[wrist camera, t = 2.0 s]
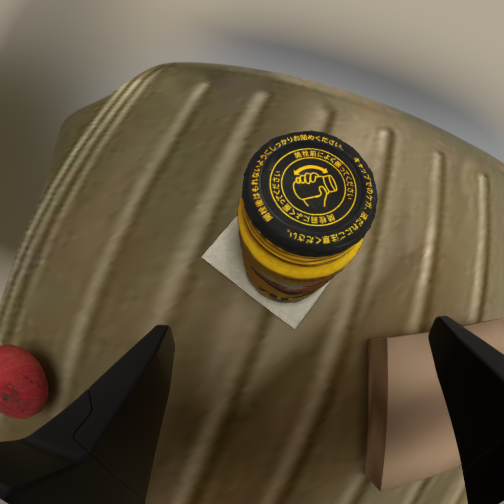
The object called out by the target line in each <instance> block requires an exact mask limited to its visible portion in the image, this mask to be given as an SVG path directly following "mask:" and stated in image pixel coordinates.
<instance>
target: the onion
mask: <svg viewBox="0 0 504 504" xmlns="http://www.w3.org/2000/svg"><path fill="white" fill-rule="evenodd" d="M47 398H48V382H47V379H46V375H45V372H44V370H43V369H42V367H41V365H40V363H39V362H38V361H37V360H36V359H35V358H34V357H33V355H32V354H30V353H29V352H28V351H27V350H25V349H23V348H20V347H17V346H14V345H3V346H0V412H1V413H2V414H4V415H6V416H8V417H11V418H19V419H25V418H29V417H31V416H33V415H35V414H37V413H38V412H40V411H42V409H43V407H44V405H45V403H46V400H47Z"/></svg>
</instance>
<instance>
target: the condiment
mask: <svg viewBox="0 0 504 504" xmlns="http://www.w3.org/2000/svg"><path fill="white" fill-rule="evenodd" d="M242 189H243V191H242V195H241V198H240V201H239V204H238V214H237V216H236V217H235V219H234V220H233V221H232V222H231V223H230V224H229V226H228V227H227V228H226V229H225V230H224V231H223V232H222V234H221V235H220V236H219V237H218V238H217V240H216V241H215V242H214V243H213V244H212V245H211V246H210V248H209V249H208V250H207V251H206V252H205V254H204V255H203V256H202V258H203V259H205V260H206V261H207V262H208V263H210V264H211V265H212V266H213V267H215V268H216V269H217V270H218V271H220V272H221V273H222V274H224V275H225V276H226V277H228V278H229V279H230V280H231V281H233V282H234V283H235V284H236V285H238V286H239V287H240V288H241V289H243V290H244V291H245V292H246V293H248V294H249V295H250V296H252V297H253V298H254V299H255V300H257V301H258V302H259V303H261V304H262V305H263V306H265V307H266V308H267V309H269V310H270V311H271V312H272V313H274V314H275V315H276V316H278V317H279V318H280V319H282V320H283V321H284V322H286V323H287V324H288V325H290V326H291V327H293V328H294V329H295V328H296V327H297V325H298V324H299V323H300V321H301V320H302V319H303V317H304V316H305V315H306V313H307V312H308V311H309V309H310V308H311V307H312V305H313V304H314V302H315V301H316V300H317V298H318V297H319V296H320V294H321V293H322V291H323V290H324V289H325V287H326V286H327V284H328V283H329V282H330V280H331V279H332V278H333V277H334V276H335V275H336V274H338V273H339V272H341V271H342V270H343V269H344V267H345V266H346V265H347V264H348V263H349V262H350V261H351V260H352V258H353V257H354V256H355V255H356V254H357V252H358V250H359V249H360V247H361V243H362V241H363V238H364V236H365V234H366V233H367V231H368V230H369V229H370V228H371V224H372V222H373V220H374V218H375V213H376V204H377V200H378V199H377V190H376V185H375V181H374V178H373V173H372V171H371V170H370V168H369V167H368V165H367V164H366V162H365V161H364V160H363V159H362V157H361V156H360V155H359V153H358V152H357V151H356V150H354V148H353V147H351V146H350V145H348V144H347V143H345V142H343V141H342V140H340V139H338V138H337V137H335V136H332V135H329V134H326V133H323V132H317V131H302V132H294V133H289V134H286V135H282V136H279V137H276V138H273V139H271V140H270V141H269V142H267V143H266V144H265V145H263V146H262V147H261V148H260V149H259V150H258V151H257V152H256V153H255V154H254V156H253V157H252V158H251V160H250V161H249V163H248V167H247V169H246V171H245V173H244V180H243V187H242ZM241 250H242V252H241ZM242 256H243V257H242Z"/></svg>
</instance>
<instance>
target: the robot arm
mask: <svg viewBox="0 0 504 504" xmlns="http://www.w3.org/2000/svg"><path fill="white" fill-rule="evenodd" d="M428 340H429V344H430V348H431V352H432V356H433V360H434V364H435V369H436V373H437V377H438V380H439V383H440V386H441V389H442V392H443V396H444V399H445V402H446V406H447V409H448V412H449V416H450V420H451V423H452V427H453V431H454V435H455V439H456V443H457V447H458V451H459V456H460V460H461V465H462V470H463V476H464V481H465V487H466V493H467V500H468V504H499V503H501V502H502V501H504V354H502V353H501V352H499V351H498V350H497V349H495V348H494V347H492V346H491V345H489V344H488V343H487V342H485V341H484V340H482V339H481V338H479V337H478V336H476V335H475V334H473V333H472V332H470V331H469V330H467V329H466V328H464V327H463V326H461V325H460V324H458V323H457V322H455V321H454V320H452V319H451V318H449V317H448V316H438V317H436V319H435V320H434V323H433V325H432V327H431V330H430V332H429V335H428ZM174 352H175V343H174V339H173V335H172V331H171V328H170V326H168V325H157V326H155V327H154V328H153V329H152V330H151V331H150V332H149V333H148V334H147V335H145V336H144V337H143V338H142V339H141V340H140V341H139V342H138V343H137V344H136V345H135V346H133V347H132V348H131V349H130V350H129V351H128V352H127V353H126V354H125V355H124V356H123V357H122V358H120V359H119V360H118V361H117V362H116V363H115V364H114V365H113V366H112V367H111V368H110V369H109V370H108V371H106V372H105V373H104V374H103V375H102V376H101V377H100V378H99V379H98V380H97V381H96V382H95V383H94V384H92V385H91V386H90V387H89V390H88V389H87V390H86V391H85V392H84V393H83V394H82V395H81V396H79V397H78V398H77V399H76V400H75V401H74V402H73V403H72V404H70V405H69V406H68V407H67V408H65V409H64V410H63V411H62V412H60V413H59V414H58V415H57V416H55V417H54V418H53V419H51V420H50V421H49V422H47V423H46V424H45V425H43V426H42V427H41V428H39V429H38V430H36V431H35V432H34V433H32V434H31V435H29V436H27V437H25V438H23V439H19V440H14V441H3V442H0V504H145V501H144V500H146V495H147V490H148V485H149V480H150V475H151V470H152V465H153V461H154V456H155V451H156V447H157V442H158V438H159V434H160V429H161V425H162V421H163V416H164V412H165V408H166V404H167V400H168V396H169V391H170V384H171V376H172V368H173V360H174Z"/></svg>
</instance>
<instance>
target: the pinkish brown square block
mask: <svg viewBox="0 0 504 504" xmlns="http://www.w3.org/2000/svg"><path fill="white" fill-rule="evenodd" d="M463 327H464V328H466V329H467V330H469V331H470V332H472V333H473V334H475V335H476V336H478V337H479V338H481V339H482V340H484V341H485V342H487V343H488V344H489V345H491V346H492V347H494V348H495V349H497V350H498V351H499V352H501V353H502V354H504V322H503V318H501V319H495V320H490V321H484V322H478V323H473V324H468V325H463ZM429 332H430V331H428V332H422V333H415V334H408V335H400V336H392V337H384V338H375V339H368V369H369V396H368V430H367V448H366V462H365V474H366V475H367V477H368V478H369V479H370V480H371V481H372V482H373V483H374V485H375V486H376V487H377V488H378V489H379V490H380V491H384V490H388V489H392V488H396V487H400V486H403V485H406V484H410V483H413V482H416V481H419V480H422V479H425V478H428V477H431V476H434V475H437V474H439V473H442V472H445V471H447V470H450V469H452V468H455V467H457V466H460V465H461V460H460V456H459V451H458V447H457V443H456V439H455V435H454V431H453V427H452V423H451V420H450V416H449V412H448V409H447V406H446V402H445V399H444V396H443V392H442V389H441V386H440V383H439V380H438V377H437V373H436V369H435V364H434V360H433V356H432V352H431V348H430V344H429V340H428V335H429Z"/></svg>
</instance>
